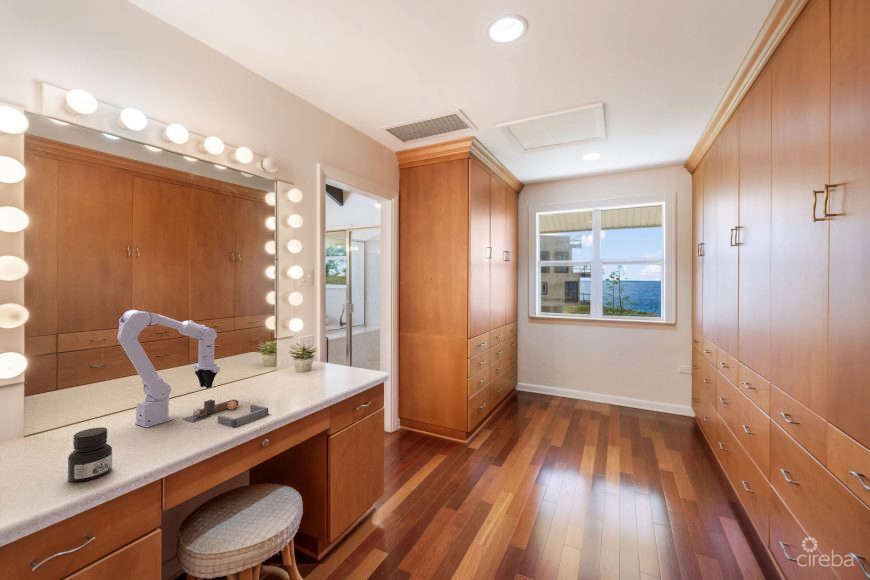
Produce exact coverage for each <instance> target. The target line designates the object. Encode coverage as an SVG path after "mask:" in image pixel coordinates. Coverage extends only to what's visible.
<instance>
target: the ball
mask: <svg viewBox="0 0 870 580" xmlns="http://www.w3.org/2000/svg"><path fill="white" fill-rule="evenodd" d="M227 407H228V408H227V409H228V410H232V411H233V410H235V409H236V408H237V407H238V406H237V404H236V402H235V401H231V402H229V403H228V405H227Z"/></svg>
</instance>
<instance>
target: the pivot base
mask: <svg viewBox="0 0 870 580" xmlns="http://www.w3.org/2000/svg"><path fill="white" fill-rule="evenodd" d="M200 409H201V408H199V407H198V408H194V409H193V414H192V415H190V416H187V417H184V418H182V419H181V420H183V421H186V422H190V423H197V422H199V421H203V420H206V419H208V418H211V417H212V415H210V414H206V415H200Z"/></svg>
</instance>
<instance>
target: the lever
mask: <svg viewBox="0 0 870 580" xmlns="http://www.w3.org/2000/svg"><path fill="white" fill-rule="evenodd" d="M231 401H235V402H236V404H237V406H236V407H238V406H239V400H237V399H230V400H227V401H224V402H221V403H217V404H215V403H216V401H215V400H214V399H209V400H205V401H204V403H203V408H200V415H210V414H213V413H216V412H219V411H221V410H224V409H228V407H227V405H228V403H229V402H231Z"/></svg>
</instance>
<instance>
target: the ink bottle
mask: <svg viewBox="0 0 870 580" xmlns="http://www.w3.org/2000/svg"><path fill="white" fill-rule="evenodd" d="M72 440H73V441H72V442H73V445H72V446H73V451H72V452H70V454H69V455H68V457H67V479H68V481H69V482H72V483H84V482H90V481H92V480H96V479H98V478H101V477H103V476H105V475H107V474H108V473H110V472H111V471H112V469H113V447H112V446H111V444H108V443H107V442H108V429H107V427H100V426H99V427H92V428H88V429H87V428H86V429H84V430H80V431H78V432H76V433H74V434H73V439H72Z"/></svg>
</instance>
